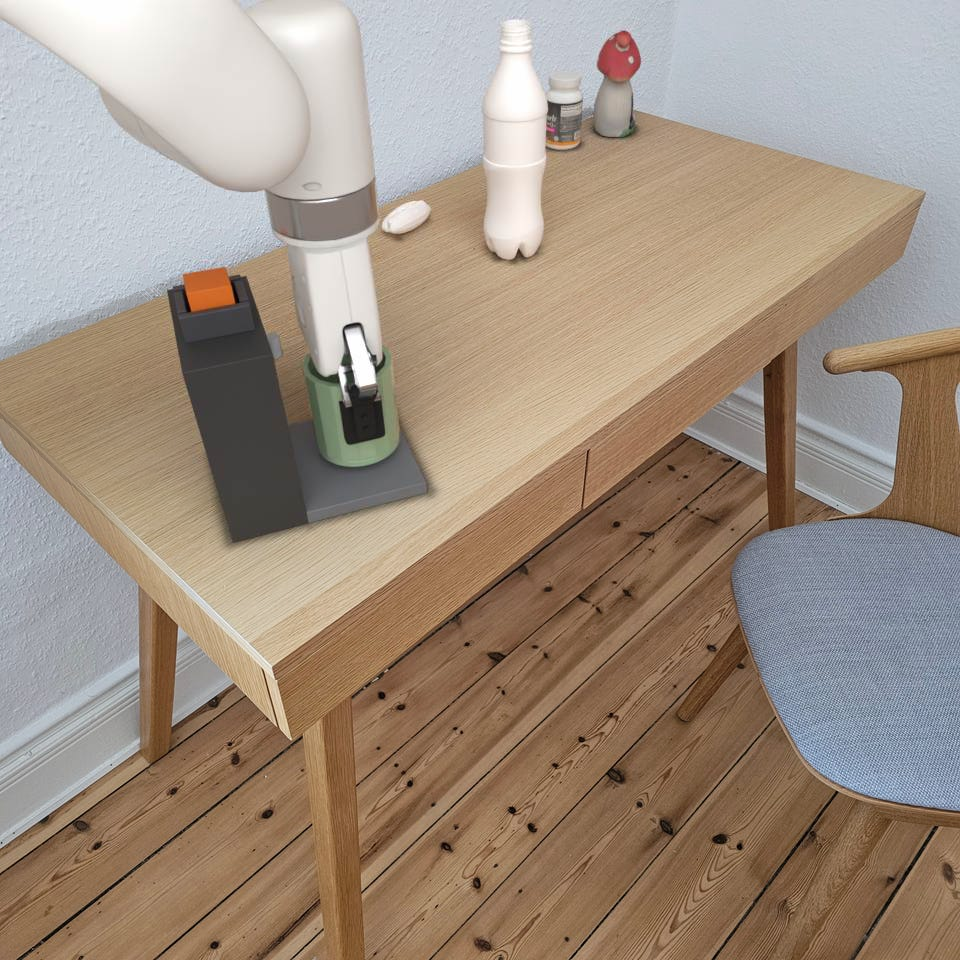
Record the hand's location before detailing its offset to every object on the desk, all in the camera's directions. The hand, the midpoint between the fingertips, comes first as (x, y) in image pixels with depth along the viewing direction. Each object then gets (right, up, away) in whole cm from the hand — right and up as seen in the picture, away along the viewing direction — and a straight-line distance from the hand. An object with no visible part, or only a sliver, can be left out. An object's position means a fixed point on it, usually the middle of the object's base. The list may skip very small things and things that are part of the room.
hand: (353, 410), depth 70 cm
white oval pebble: (+1, +26, +38) cm, 47 cm away
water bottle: (+15, +22, +33) cm, 42 cm away
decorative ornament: (+32, +49, +63) cm, 86 cm away
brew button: (-8, +6, -10) cm, 14 cm away
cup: (0, -2, +2) cm, 3 cm away
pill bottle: (+23, +45, +59) cm, 78 cm away
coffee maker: (-3, -5, +3) cm, 7 cm away
